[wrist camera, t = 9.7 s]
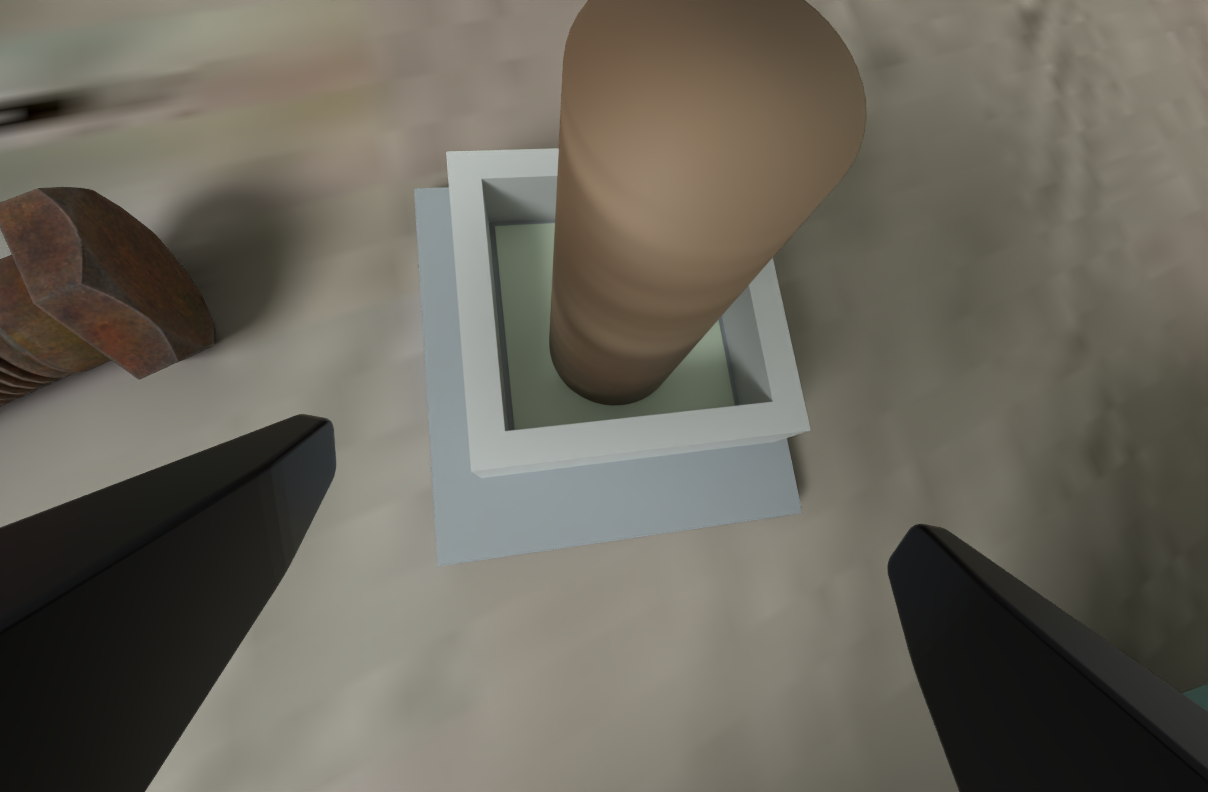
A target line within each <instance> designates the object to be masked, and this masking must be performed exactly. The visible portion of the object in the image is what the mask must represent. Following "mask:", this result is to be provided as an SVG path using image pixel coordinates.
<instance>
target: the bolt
mask: <svg viewBox="0 0 1208 792" xmlns="http://www.w3.org/2000/svg"><path fill="white" fill-rule="evenodd" d="M0 229H1V231H2V233H3V236H4V238H5V240H6V242H7V245H8V247H9V249H10V252H11V254H12V255H10V256H7V257H5V258H2V259H0V406H1V405H4V404H6V403H8V402H10V401H12V400H14V399H16V398H20V397H23V396H24V395H26V394H27V393H31V392H33V391H35V390H36V389H38V388H40V387H44V386H47V385H49V384H51V383H52V382H54V381H58V380H60V379H61V378H63V377H66V376H69V375H71V374H73V373H75V372H84V371H88V370H90V369H92V368H94V367H97V366H99V365H101V364H103V363H105V362H108V361H110V360H112V361H114V362H115V363H117V364H118V365H119V366H121V367H122V368H123V369H125V370H126V371H128V372H129V373H130V374H132V375H133V376H135V377H136V378H137V379H142V378H144V377H146V376H148V375H150V374H153V373H155V372H157V371H159V370H161V369H164V368H166V367H168V366H170V365H172V364H174V363H177V362H179V361H181V360H183V359H185V358H187V357H190V356H192V355H194V354H196V353H198V352H200V351H203V350H205V349H207V348H209V347H211V346H213V345H215V340H214V325H213V319H212V317H211V315H210V313H209V311H208V309H207V306H206V304H205V301H204V299H203V297H202V295H201V294H200V292H199V290H198V289H197V287H196V286H195V284H194V283H193V281H192V280H191V278H190V277H189V276H188V274H187V273H186V271H185V270H184V269H183V267H182V266H181V265H180V264H179V262H178V261H177V260H176V259H175V257H174V256H173V255H172V254H171V252H170V251H169V250H168V249H167V247H166V246H165V245H164V244H163V242H162V241H161V240H160V239H159V238H158V237H157V235H156V234H154V233H153V232H152V231H151V230H150V229H148V228H147V227H146V226H145V225H143V224H142V223H141V222H140V221H138V220H137V219H136V218H134V217H133V216H132V215H130V214H129V213H128V212H127V211H125V210H124V209H123V208H121V207H120V206H118V205H117V204H115V203H113V202H112V201H110V200H108V199H107V198H105V197H103V196H102V195H100V194H98V193H97V192H95V191H93V190H90V189H84V188H73V187H53V188H38V189H35V190H32V191H30V192H27V193H24V194H22V195H19V196H16V197H14V198H11V199H8V200H6V201H3V202H0Z"/></svg>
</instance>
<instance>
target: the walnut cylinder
mask: <svg viewBox="0 0 1208 792" xmlns="http://www.w3.org/2000/svg"><path fill="white" fill-rule="evenodd" d="M865 123H866V99H865V94H864V88H863V83H862V80H861V77H860V74H859V71H858V68H857V66H856V64H855V62H854V60H853V57H852V55H851V53H850V51H849V50H848V48H847V47H846V45H845V43H844V42H843V40H842V39H841V37H840V36H839V35H838V33H837V32H836V31H835V30H834V28H833V27H832V26H831V25H830V23H829V22H828V21H827V20H826V19H825V18H824V17H823V16H822V15H821V14H820V13H819V12H818V11H817V10H816V9H815V8H813V7H812V6H811V5H810V4H809V3H807V2H806V1H805V0H588V1H587V2H586V4H585V5H584V7H583V8H582V9H581V11H580V12H579V13H578V15H577V17H576V19H575V21H574V23H573V25H572V27H571V29H570V32H569V35H568V38H567V41H566V45H565V52H564V59H563V74H562V94H561V114H560V134H559V153H558V173H557V193H556V213H555V233H554V252H553V272H552V292H551V312H550V332H549V349H550V356H551V359H552V362H553V365H554V367H555V369H556V371H557V373H558V375H559V376H560V378H561V379H562V380H563V381H564V383H565V384H566V385H567V386H568V387H569V388H570V389H571V390H573V391H574V392H575V393H577V394H578V395H580V396H581V397H583V398H585V399H587V400H590V401H592V402H595V403H599V404H603V405H611V406H612V405H626V404H631V403H634V402H637V401H640V400H642V399H644V398H646V397H647V396H649V395H651V394H652V393H653V392H654V391H656V390H657V389H658V388H659V387H660V386H661V385H662V383H663V382H664V381H665V380H666V379H667V378H668V377H669V375H670V374H671V373H672V372H673V371H674V370H675V369H676V367H677V366H678V365H679V364H680V363H681V362H682V361H683V359H684V358H685V357H686V356H687V355H688V354H689V353H690V351H691V350H692V349H693V348H694V347H695V346H696V345H697V343H698V342H699V341H700V340H701V339H702V338H703V337H704V335H705V334H706V333H707V332H708V331H709V330H710V329H711V327H712V326H713V325H714V324H715V323H716V322H717V321H718V319H719V318H720V317H721V316H722V315H723V314H724V313H725V312H726V310H727V309H728V308H729V307H730V306H731V305H732V304H733V302H734V301H735V300H736V299H737V298H738V297H739V296H740V294H741V293H742V292H743V291H744V290H745V289H746V288H747V286H748V285H749V284H750V283H751V282H752V281H753V280H754V278H755V277H756V276H757V275H758V274H759V273H760V272H761V270H762V269H763V268H764V267H765V266H766V265H767V264H768V262H769V261H770V260H771V259H772V258H773V257H774V256H775V254H776V253H777V252H778V251H779V250H780V249H781V248H782V246H783V245H784V244H785V243H786V242H787V241H788V240H789V238H790V237H791V236H792V235H793V234H794V233H795V232H796V230H797V229H798V228H799V227H800V226H801V225H802V224H803V222H804V221H805V220H806V219H807V218H808V217H809V216H810V214H811V213H812V212H813V211H814V210H815V209H816V208H817V206H818V205H819V204H820V203H821V202H822V201H823V200H824V199H825V197H826V196H827V195H828V194H829V193H830V192H831V191H832V189H833V188H834V187H835V186H836V185H837V184H838V183H839V181H840V180H841V179H842V178H843V177H844V176H845V174H846V173H847V171H848V170H849V168H850V167H851V165H852V164H853V162H854V160H855V158H856V156H857V154H858V151H859V149H860V147H861V143H862V140H863V136H864V132H865Z"/></svg>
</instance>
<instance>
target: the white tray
mask: <svg viewBox="0 0 1208 792" xmlns="http://www.w3.org/2000/svg"><path fill="white" fill-rule="evenodd" d="M558 153H559V148H555V149H522V150H488V151H455V152H446V156H447V169H448V181H449V187H445V188H420V189H414V195H415V211H416V227H417V243H418V260H419V276H420V292H421V308H422V324H423V341H424V357H425V373H426V389H427V406H428V422H429V438H430V454H431V470H432V487H433V503H434V519H435V535H436V551H437V567H438V566H445V565H452V564H458V563H465V562H472V561H479V560H486V559H493V558H499V557H506V556H513V555H520V554H527V553H534V552H541V551H547V550H554V549H561V548H568V547H575V546H582V545H588V544H595V543H602V542H609V541H616V540H623V539H629V538H636V537H643V536H650V535H657V534H664V533H670V532H677V531H684V530H691V529H698V528H705V527H711V526H718V525H725V524H732V523H739V522H746V521H752V520H759V519H766V518H773V517H780V516H787V515H794V514H800V513H802V509H801V504H800V499H799V494H798V489H797V485H796V480H795V475H794V470H793V465H792V461H791V456H790V451H789V446H788V441H787V438H789V437H792V436H795V435H798V434H801V433H804V432H808V431H811V430H810V425H809V421H808V416H807V412H806V407H805V402H804V398H803V393H802V389H801V384H800V380H799V375H798V371H797V366H796V361H795V357H794V352H793V348H792V343H791V339H790V334H789V330H788V325H787V320H786V316H785V311H784V307H783V302H782V298H781V293H780V289H779V284H778V279H777V275H776V270H775V266H774V261H773V258H772V259H771V260H770V261H769V262H768V264H767V265H766V266H765V267H764V268H763V269H762V270H761V272H760V273H759V274H758V275H757V276H756V277H755V278H754V280H753V281H752V282H751V283H750V284H749V285H748V286H747V288H746V289H745V290H744V291H743V292H742V293H741V294H740V296H739V297H738V298H737V299H736V300H735V301H734V302H733V304H732V305H731V306H730V307H729V308H728V309H727V310H726V312H725V313H724V314H723V315H722V316H721V317H720V318H719V319H718V321H717V322H716V323H715V324H714V325H713V326H712V327H711V329H710V330H709V331H708V332H707V333H706V334H705V335H704V337H703V338H702V339H701V340H700V341H699V342H698V343H697V345H696V346H695V347H694V348H693V349H692V350H691V351H690V353H689V354H688V355H687V356H686V357H685V358H684V359H683V361H682V362H681V363H680V364H679V365H678V366H677V367H676V369H675V370H674V371H673V372H672V373H671V374H670V375H669V377H668V378H667V379H666V380H665V381H664V382H663V383H662V385H661V386H660V387H659V388H658V389H657V390H656V391H654V392H653V393H652V394H651V395H649V396H647V397H646V398H644V399H642V400H640V401H637V402H634V403H631V404H626V405H612V406H611V405H603V404H599V403H595V402H592V401H590V400H587V399H585V398H583V397H581V396H580V395H578V394H577V393H575V392H574V391H573V390H571V389H570V388H569V387H568V386H567V385H566V384H565V383H564V381H563V380H562V379H561V378H560V376H559V375H558V373H557V371H556V369H555V367H554V365H553V362H552V359H551V356H550V349H549V332H550V312H551V292H552V272H553V252H554V233H555V213H556V193H557V173H558Z"/></svg>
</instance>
